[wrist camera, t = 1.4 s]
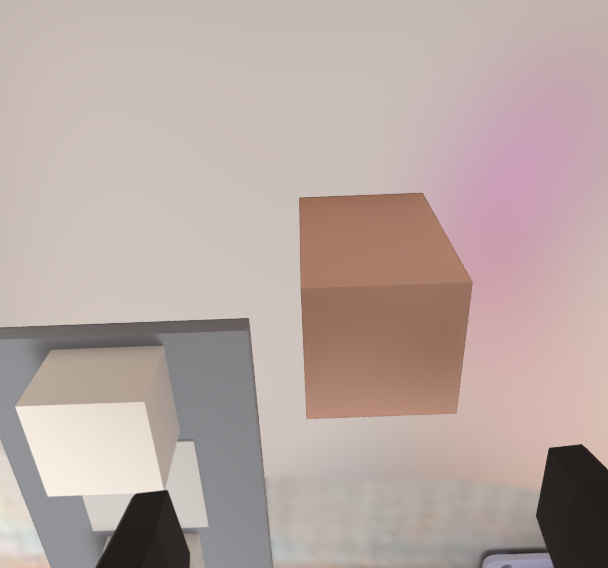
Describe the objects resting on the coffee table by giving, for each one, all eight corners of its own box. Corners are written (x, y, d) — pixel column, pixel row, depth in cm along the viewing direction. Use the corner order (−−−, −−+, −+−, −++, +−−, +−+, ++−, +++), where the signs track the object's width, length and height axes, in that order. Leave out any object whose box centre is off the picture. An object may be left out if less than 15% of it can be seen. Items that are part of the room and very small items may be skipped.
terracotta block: (422, 192, 19) (472, 281, 13) (415, 299, 21) (456, 413, 15) (299, 197, 19) (300, 288, 13) (303, 303, 21) (306, 418, 15)
